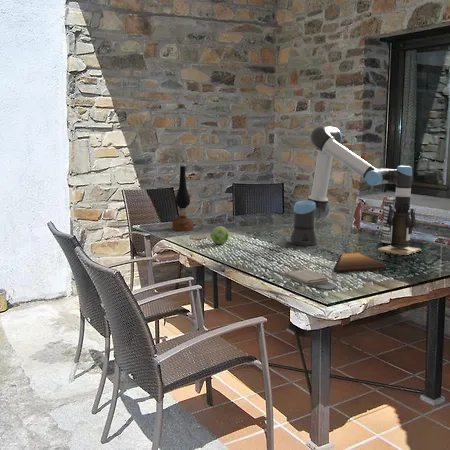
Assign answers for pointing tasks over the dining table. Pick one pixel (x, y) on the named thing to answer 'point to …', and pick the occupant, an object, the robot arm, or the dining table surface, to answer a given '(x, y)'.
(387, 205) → the decorative candle
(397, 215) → the container
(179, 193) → the oil lamp
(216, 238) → the decorative ball
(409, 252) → the oak board
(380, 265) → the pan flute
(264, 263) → the dining table surface
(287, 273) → the washcloth
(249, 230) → the dining table surface
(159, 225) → the dining table surface
